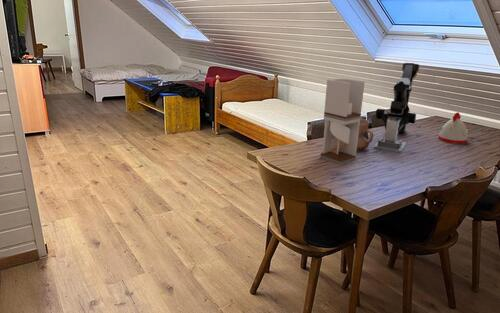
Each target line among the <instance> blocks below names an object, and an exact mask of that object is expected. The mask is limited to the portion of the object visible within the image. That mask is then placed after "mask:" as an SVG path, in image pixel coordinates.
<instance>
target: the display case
mask: <svg viewBox="0 0 500 313" xmlns="http://www.w3.org/2000/svg"><path fill="white" fill-rule="evenodd" d="M365 84H366V82H365V81H363V80H356V79H351V78H346V77H345V78H343V77H341V78H332V79H327V80H326V89H325V90H326V91H325V101H324V102H325V103H324V112H323V113H324V114H323V120H324V131H323V142H322V150H321V151H322V152H321V153H320V156H319V157H320V159H323V160H326V161H329V162H331V163H335V164H338V165H344V164H347V163H350V162H353V161H355V160H356V159H357V158H356V156H357V151H356V150H357V142H358V133H359V125H360V117H361V116H362V107H363V99H364V90H365Z"/></svg>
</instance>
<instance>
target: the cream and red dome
mask: <svg viewBox="0 0 500 313" xmlns="http://www.w3.org/2000/svg"><path fill="white" fill-rule="evenodd" d="M461 117H462V116H461V114H460V112H459V111H458V112H455V113H454V115H453V116H452V118H451V119H450V120H448V121H446V123H444V125H441V126H440V130H439V133H438V137H437V138H438V140H439V141H442V142H445V143H449V142H450V143H451V144H459V143H461V144H466V143H467V142H468V135H469V129H468V128H467V127H466V125H465V124H466V123H464V122H463V120H461ZM465 142H466V143H465Z"/></svg>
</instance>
